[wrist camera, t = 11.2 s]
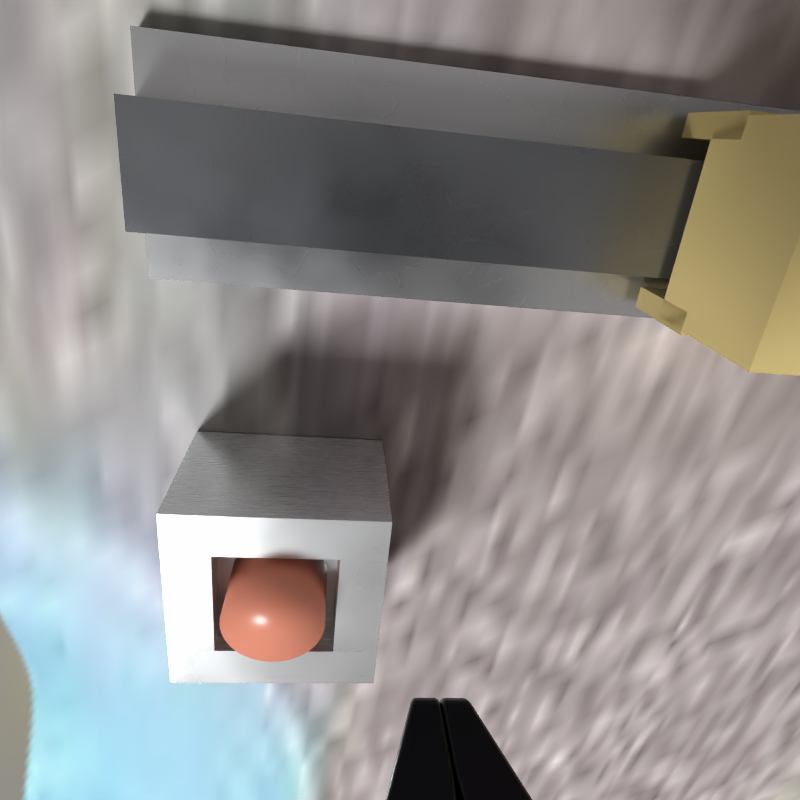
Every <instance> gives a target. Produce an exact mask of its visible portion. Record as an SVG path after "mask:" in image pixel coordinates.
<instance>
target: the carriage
mask: <svg viewBox="0 0 800 800" xmlns="http://www.w3.org/2000/svg"><path fill="white" fill-rule="evenodd" d="M682 138H687V139H696V140H704V141H710V144H709V148H708V151H707V154H706V158H705V161H704V165H703V168H702V172H701V175H700V178H699V182H698V185H697V189H696V192H695V196H694V199H693V202H692V206H691V209H690V213H689V216H688V219H687V223H686V226H685V230H684V233H683V237H682V240H681V243H680V247H679V250H678V254H677V257H676V261H675V264H674V267H673V271H672V274H671V278H670V281H669V285H668V288H667V289H661V288H649V287H641V288H640V291H639V295H638V299H637V302H636V306H635V307H637V308H638V309H640V310H641V311H643V312H645V313H646V314H648V315H649V316H651V317H653V318H654V319H656V320H657V321H659V322H661V323H662V324H664V325H665V326H667V327H669V328H670V329H672V330H674V331H675V332H677V333H678V334H680V335H689V336H691V337H692V338H694V339H695V340H697V341H699V342H700V343H702V344H704V345H705V346H707V347H709V348H710V349H712V350H714V351H715V352H717V353H718V354H720V355H722V356H723V357H725V358H727V359H728V360H730V361H732V362H733V363H735V364H737V365H738V366H740V367H741V368H743V369H745V370H746V371H748V372H755V373H769V374H784V375H798V376H800V114H776V113H768V112H760V111H752V110H745V111H719V112H694V113H688V116H687V119H686V123H685V127H684V130H683V134H682Z"/></svg>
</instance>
